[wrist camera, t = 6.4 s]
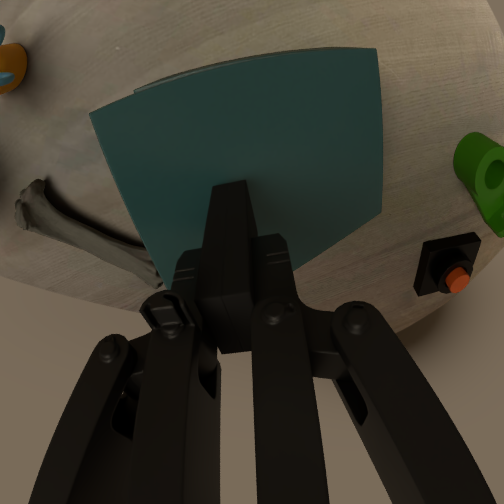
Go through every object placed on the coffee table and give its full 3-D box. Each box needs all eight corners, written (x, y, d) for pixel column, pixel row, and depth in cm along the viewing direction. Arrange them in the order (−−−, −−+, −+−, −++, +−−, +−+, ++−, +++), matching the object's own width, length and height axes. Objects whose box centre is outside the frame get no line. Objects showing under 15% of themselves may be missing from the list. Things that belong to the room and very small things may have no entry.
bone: (25, 205, 30) (1, 232, 25) (32, 165, 27) (4, 190, 22) (161, 278, 38) (151, 313, 34) (182, 246, 35) (173, 282, 30)
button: (466, 264, 34) (472, 272, 33) (460, 281, 36) (465, 290, 35) (448, 269, 34) (454, 277, 33) (442, 286, 37) (447, 295, 35)
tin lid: (187, 325, 17) (192, 333, 16) (88, 113, 9) (88, 113, 8) (373, 208, 22) (381, 212, 22) (366, 48, 14) (376, 48, 14)
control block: (474, 231, 35) (487, 248, 32) (460, 274, 40) (471, 291, 37) (423, 241, 36) (436, 260, 33) (413, 286, 41) (422, 305, 38)
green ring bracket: (445, 157, 28) (466, 175, 24) (478, 121, 24) (502, 134, 21) (483, 223, 34) (499, 241, 30) (510, 193, 30) (528, 209, 27)
